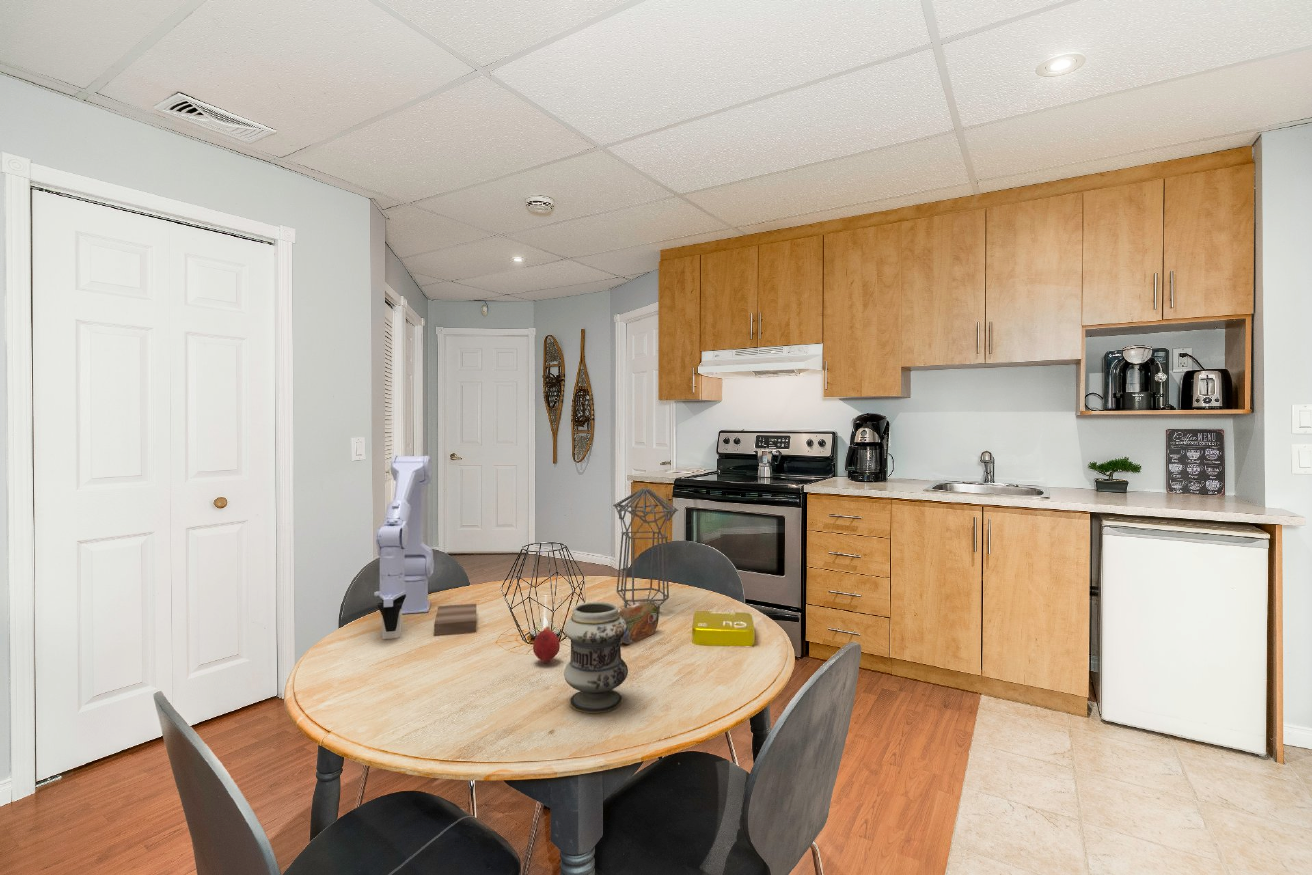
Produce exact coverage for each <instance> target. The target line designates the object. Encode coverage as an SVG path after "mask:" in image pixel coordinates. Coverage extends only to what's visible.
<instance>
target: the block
mask: <svg viewBox="0 0 1312 875" xmlns="http://www.w3.org/2000/svg"><path fill="white" fill-rule="evenodd" d="M381 620H382V621H381V622H382V626H381V628H382V632H381V633H382V634H381V636H382V637H381V638H382V640H388V639H399V638H401V636H402V633H403V614H402V609H400V612H399V616H398V622H397V627H396V630H395V631H390V632H386V629H385V625H384V620H383V616H382V615H381Z"/></svg>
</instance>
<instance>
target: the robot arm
mask: <svg viewBox="0 0 1312 875" xmlns="http://www.w3.org/2000/svg"><path fill="white" fill-rule="evenodd" d="M432 469H433V464H432V458H431V457H430V456H429V455H394V456H393V457H392V458H391V460H390V474H391V476H392V479H393V480H394V481H395V485H394V494H393V500H391V501H390V502H388V503H387V506H386V511H385V514H384V518H383V522H382V525H381V527H378V528H377V531H376V534H375V535H376V536H375V544H376V549H377V556H378V557H379V590H377V591H374V594H373V595H374V597H375V596H376V597H378V596H379V597H380V599H381V601H382V602H378V603H377V608H378V611H379V612H380V615H381V617H382V616H383V620H384V625H385V629H386V632H390V631H395V630H396V627H397V622H398V616H399V612H400V609H402V615H405V614H416V613H417V614H419V613H427V612H429V610H430V606H431V601H429V600H428V599H429V596H428V595H429V583H428V581H429V580H428V579H429V578H430V577H431V576H432V575H433V573H434V568H435V567H434V566H435V559H434V551H433V548H431V547H430V546H428V545H427V544H426V543H424V507H425V506H424V504H425V502H424V501H425V500H424V496H425V488H426V486H428V485H430V484H431V483H432V476H433V473H432V471H433V470H432Z"/></svg>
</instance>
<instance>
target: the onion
mask: <svg viewBox="0 0 1312 875" xmlns="http://www.w3.org/2000/svg"><path fill="white" fill-rule="evenodd" d="M550 629H551V627H550V626H548V625H546V626H545V627H544V628H543V630H542V631H541V632H539V633H538V634H537V635H536V637H535V638H534V639H533V644H532V645H533V646H532V649H533V650H532V651H533V653H534V656H535V657H536V658H537V659H539V660H540V661H541V662H543V663H545V664H548V663H550V661H552V660H553V659H554V658H555V657H556V656H557V655H558V654H559V652H560V646H561V644H560V639H559V637H558V635H557V634H556V633H555V632H554V631H552V630H550Z"/></svg>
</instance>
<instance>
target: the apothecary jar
mask: <svg viewBox="0 0 1312 875" xmlns="http://www.w3.org/2000/svg"><path fill="white" fill-rule="evenodd" d="M563 630H564V634H565V637H567V638H568V639H569V640H570V661H569V662H568V663H567V664H566V666H565V668H564V670H563V676H564V680H565V682H566V683H567V684H568V686H570V687H571V688H573V689H574V690H577V692H576V693H574V694H573V695H572V696H571V697H570V700H569V704H570V707H571V708H572V709H573V710H575V711H577V712H581V713H585V714H601V713H608V712H610V711H613V710H615V709H617V708H619V707H620V706H621V704H622V702H623V696H622V695H621V693H619V692H618V691H616V690H614V689H616V688H618V687H619V686H620V685H621V684H623V683H624V682H625V680H626V679H627V678H628V674H629V669H628V665H627V663H626V662H625V660H624V659H622V651H621V650H622V649H621V647H622V646H621V638H622V637H623V636H624V635H625V633H626V631H627V624H626V622H625V620H624V619H623V618H622V617H621V616H619V608H618V605H617V604H614V603H613V602H608V601H607V602H606V601H590V602H584V603H580V604H577V605H575V606H574V607H573V609H572V614H571V617H569V619H568V620H567V621H566V622H565V624H564V628H563Z"/></svg>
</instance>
